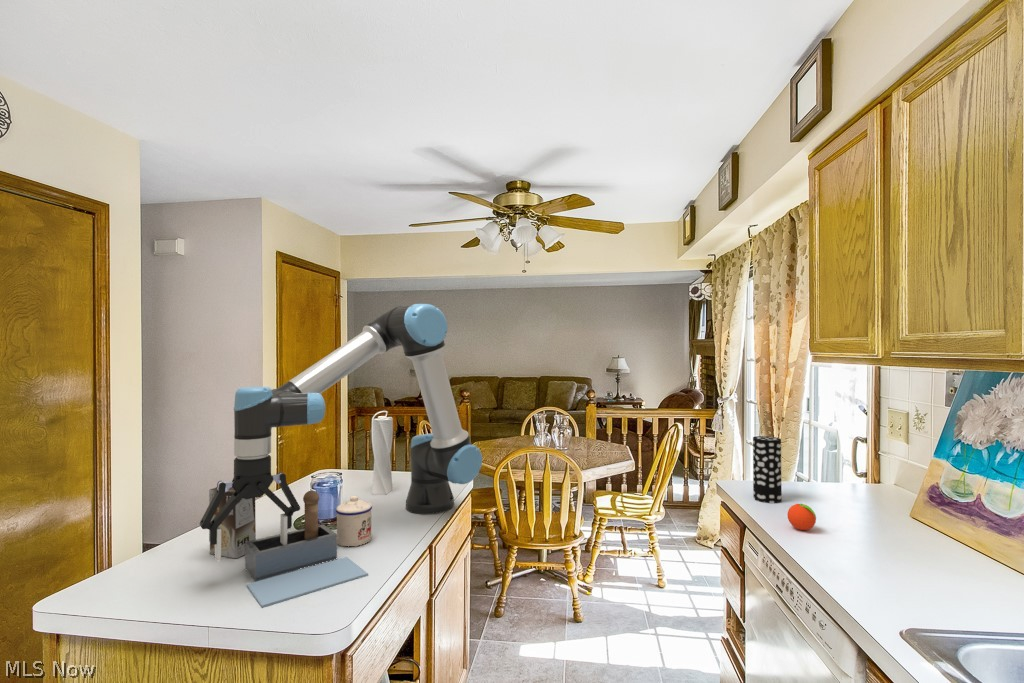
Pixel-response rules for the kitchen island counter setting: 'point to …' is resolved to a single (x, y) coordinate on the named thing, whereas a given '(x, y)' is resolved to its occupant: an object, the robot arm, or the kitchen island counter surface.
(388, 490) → the skyscraper
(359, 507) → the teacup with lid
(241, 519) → the coffee box
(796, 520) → the clementine
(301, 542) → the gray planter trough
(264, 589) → the slate mat
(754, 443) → the spotted tube
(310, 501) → the walnut peg
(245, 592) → the kitchen island counter surface
